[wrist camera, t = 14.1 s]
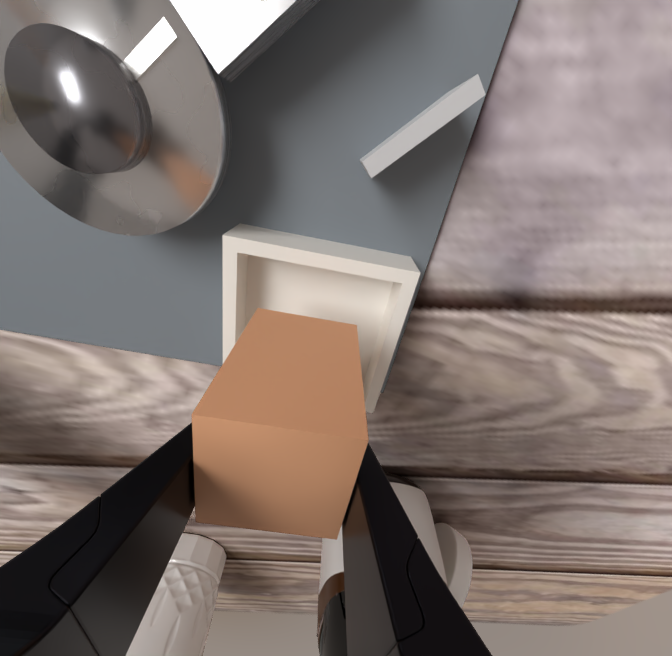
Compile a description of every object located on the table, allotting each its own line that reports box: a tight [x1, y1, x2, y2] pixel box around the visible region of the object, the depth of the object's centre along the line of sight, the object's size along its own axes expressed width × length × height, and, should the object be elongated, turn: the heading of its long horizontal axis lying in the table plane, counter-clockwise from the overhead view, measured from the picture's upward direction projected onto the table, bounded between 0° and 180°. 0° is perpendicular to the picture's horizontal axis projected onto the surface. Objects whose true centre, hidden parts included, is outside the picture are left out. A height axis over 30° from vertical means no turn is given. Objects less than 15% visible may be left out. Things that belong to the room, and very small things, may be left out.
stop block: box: [192, 308, 369, 540], centre depth 10 cm, size 4×4×6 cm
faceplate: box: [0, 0, 518, 393], centre depth 12 cm, size 23×23×3 cm
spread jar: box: [317, 472, 473, 656], centre depth 21 cm, size 12×11×12 cm
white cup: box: [126, 533, 226, 656], centre depth 26 cm, size 8×8×10 cm
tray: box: [222, 223, 420, 413], centre depth 16 cm, size 8×8×2 cm
